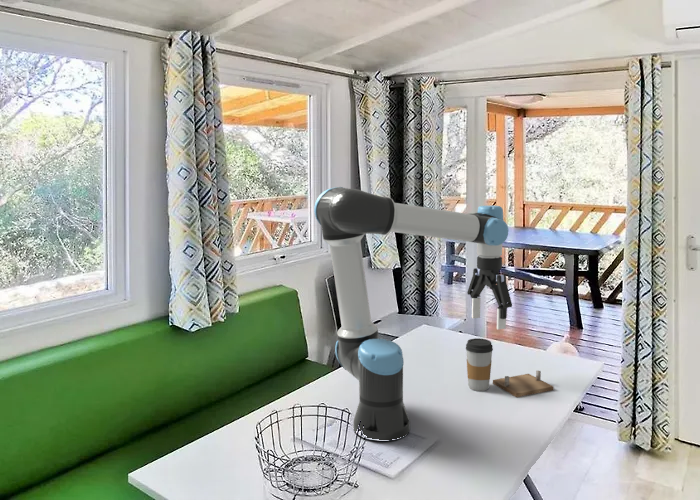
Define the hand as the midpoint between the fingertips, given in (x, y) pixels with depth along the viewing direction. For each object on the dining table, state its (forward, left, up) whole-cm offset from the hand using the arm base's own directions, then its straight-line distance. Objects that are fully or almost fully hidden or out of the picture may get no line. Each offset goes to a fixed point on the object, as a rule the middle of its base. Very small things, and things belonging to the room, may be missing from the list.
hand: (488, 323), depth 179 cm
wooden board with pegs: (+10, -5, -21) cm, 24 cm away
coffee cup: (-3, 0, -21) cm, 21 cm away
